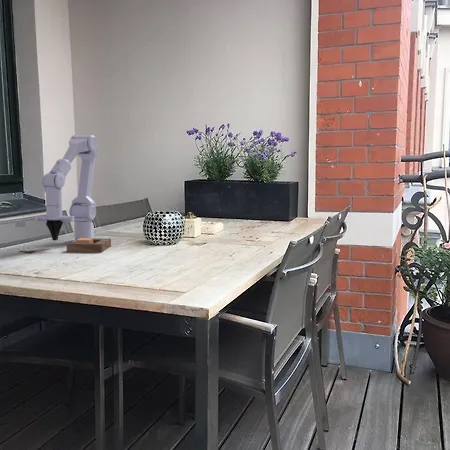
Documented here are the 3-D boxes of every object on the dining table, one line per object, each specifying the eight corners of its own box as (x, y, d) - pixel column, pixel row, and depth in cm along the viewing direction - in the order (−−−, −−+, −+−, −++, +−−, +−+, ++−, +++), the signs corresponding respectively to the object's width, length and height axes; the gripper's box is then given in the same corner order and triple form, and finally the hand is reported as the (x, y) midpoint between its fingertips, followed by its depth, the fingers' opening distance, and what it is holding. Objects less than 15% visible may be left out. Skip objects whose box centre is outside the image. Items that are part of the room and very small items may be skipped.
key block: (80, 248, 200) (80, 237, 199) (93, 248, 199) (93, 238, 199) (76, 250, 195) (76, 240, 194) (89, 250, 194) (89, 240, 194)
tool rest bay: (78, 245, 204) (78, 238, 204) (111, 246, 204) (110, 238, 203) (66, 251, 190) (66, 243, 190) (101, 252, 190) (101, 244, 190)
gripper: (31, 205, 192) (32, 241, 194) (69, 206, 192) (70, 242, 193) (38, 203, 199) (39, 238, 201) (75, 204, 199) (76, 238, 200)
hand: (55, 240), depth 198 cm, fingers closed
